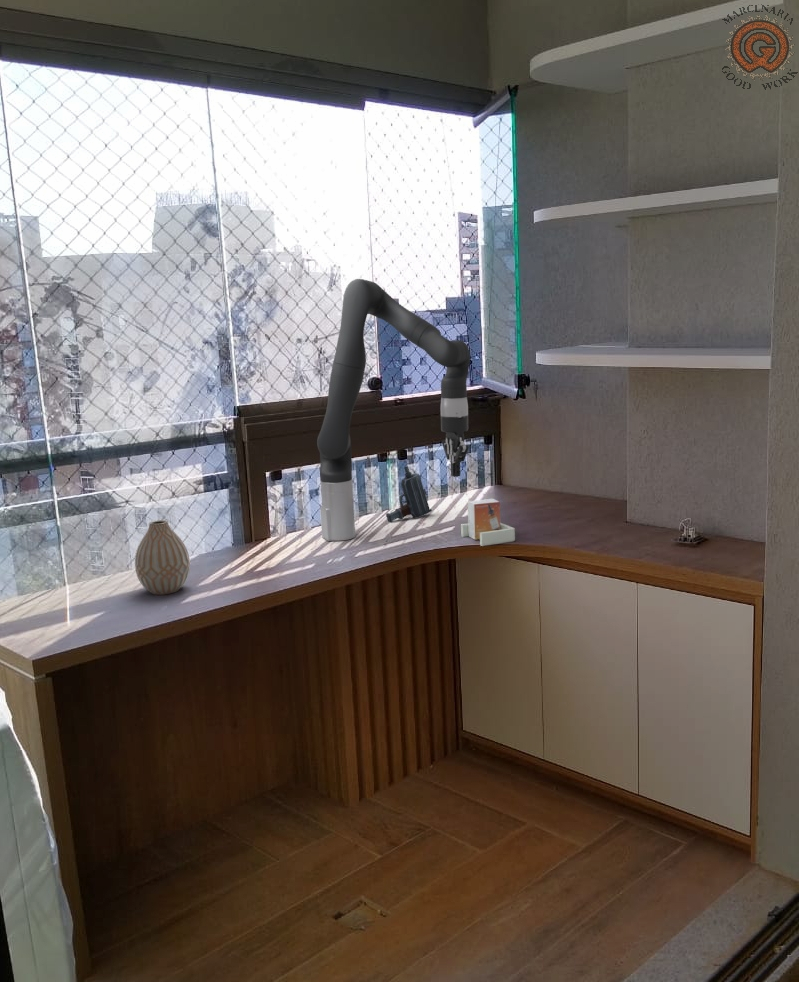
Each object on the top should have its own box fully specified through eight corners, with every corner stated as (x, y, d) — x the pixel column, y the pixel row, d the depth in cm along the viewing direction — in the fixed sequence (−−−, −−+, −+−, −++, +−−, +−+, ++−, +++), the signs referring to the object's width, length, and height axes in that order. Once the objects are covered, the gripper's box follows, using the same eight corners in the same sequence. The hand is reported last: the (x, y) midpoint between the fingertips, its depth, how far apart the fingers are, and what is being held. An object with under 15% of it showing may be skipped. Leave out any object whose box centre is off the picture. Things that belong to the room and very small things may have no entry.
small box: (474, 540, 269) (473, 504, 267) (468, 536, 275) (466, 500, 273) (501, 537, 271) (500, 501, 269) (494, 533, 277) (493, 497, 275)
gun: (374, 479, 295) (413, 461, 301) (389, 528, 300) (427, 509, 306) (378, 480, 293) (418, 462, 299) (393, 529, 298) (432, 510, 304)
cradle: (482, 545, 263) (481, 533, 262) (461, 536, 275) (460, 524, 275) (516, 540, 267) (515, 528, 266) (493, 531, 279) (493, 519, 278)
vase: (128, 592, 235) (120, 523, 232) (174, 580, 244) (167, 513, 241) (155, 602, 226) (148, 530, 223) (202, 589, 235) (196, 520, 231)
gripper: (432, 412, 265) (433, 474, 269) (451, 417, 253) (453, 481, 256) (456, 411, 268) (458, 471, 271) (477, 415, 256) (478, 478, 259)
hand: (455, 476), depth 264 cm, fingers closed
